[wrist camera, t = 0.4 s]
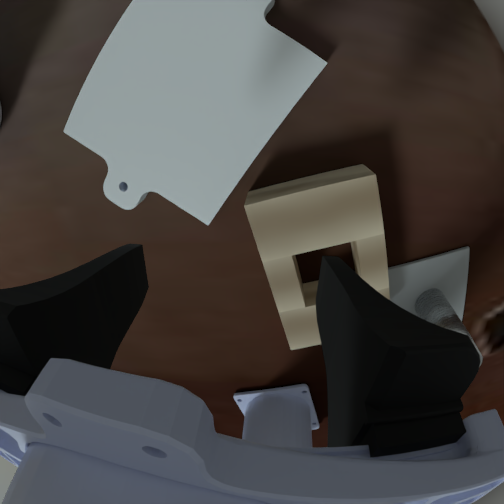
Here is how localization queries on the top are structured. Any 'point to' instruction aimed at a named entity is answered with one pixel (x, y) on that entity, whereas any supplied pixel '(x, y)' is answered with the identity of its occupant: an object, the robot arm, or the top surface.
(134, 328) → the top surface
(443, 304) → the peg
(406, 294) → the mat
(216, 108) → the mounting plate
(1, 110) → the teacup
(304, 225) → the hole block
